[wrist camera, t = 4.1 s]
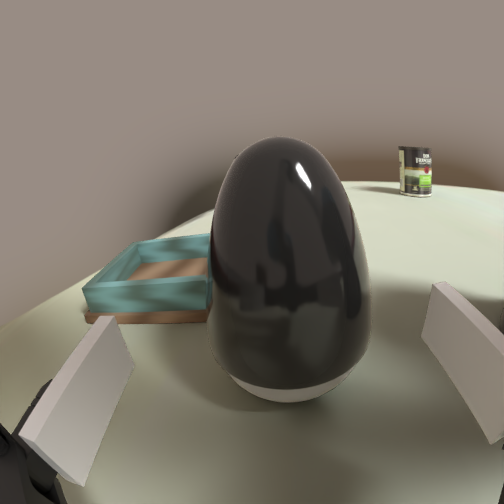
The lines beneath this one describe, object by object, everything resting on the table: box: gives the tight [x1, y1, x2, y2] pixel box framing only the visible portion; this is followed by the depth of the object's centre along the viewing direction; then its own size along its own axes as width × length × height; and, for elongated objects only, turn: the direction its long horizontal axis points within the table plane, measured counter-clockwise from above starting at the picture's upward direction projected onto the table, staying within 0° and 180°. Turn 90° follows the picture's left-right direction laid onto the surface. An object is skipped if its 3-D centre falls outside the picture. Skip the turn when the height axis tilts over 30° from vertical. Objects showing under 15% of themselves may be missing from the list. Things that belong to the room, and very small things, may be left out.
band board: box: [82, 233, 210, 324], centre depth 33 cm, size 16×16×4 cm
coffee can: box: [399, 146, 431, 197], centre depth 70 cm, size 10×10×14 cm
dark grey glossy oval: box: [205, 136, 372, 402], centre depth 16 cm, size 10×10×15 cm
